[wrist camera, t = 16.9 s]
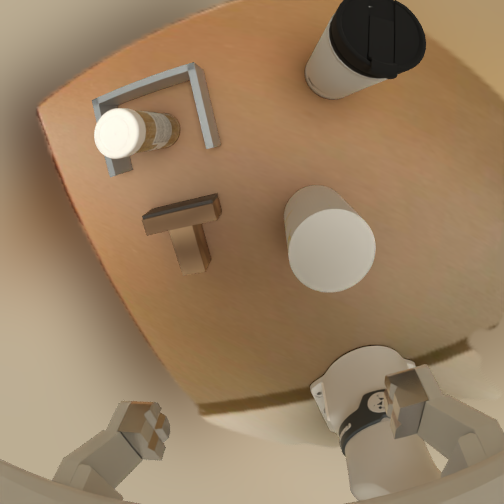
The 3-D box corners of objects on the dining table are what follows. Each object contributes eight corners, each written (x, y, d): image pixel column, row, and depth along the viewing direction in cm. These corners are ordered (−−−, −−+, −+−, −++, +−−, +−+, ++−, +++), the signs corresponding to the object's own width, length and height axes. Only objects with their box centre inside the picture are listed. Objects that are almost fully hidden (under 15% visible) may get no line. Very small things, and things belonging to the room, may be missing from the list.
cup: (271, 206, 39) (271, 239, 28) (327, 172, 37) (350, 191, 26) (304, 258, 41) (315, 306, 30) (358, 227, 39) (388, 265, 28)
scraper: (233, 255, 42) (229, 267, 38) (170, 266, 43) (161, 279, 39) (217, 193, 39) (211, 200, 35) (152, 208, 40) (140, 217, 36)
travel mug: (301, 98, 34) (333, 64, 15) (306, 47, 31) (338, -25, 13) (353, 106, 34) (429, 89, 15) (357, 57, 31) (430, 2, 13)
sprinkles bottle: (144, 146, 37) (89, 157, 25) (150, 111, 35) (95, 106, 23) (178, 150, 37) (134, 162, 25) (184, 114, 35) (141, 109, 23)
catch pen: (220, 145, 37) (213, 147, 32) (127, 171, 38) (110, 177, 34) (203, 70, 33) (193, 62, 29) (111, 102, 35) (91, 100, 30)
